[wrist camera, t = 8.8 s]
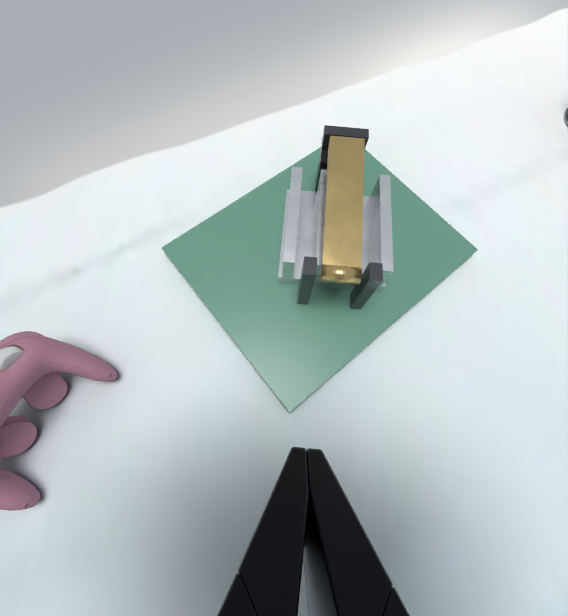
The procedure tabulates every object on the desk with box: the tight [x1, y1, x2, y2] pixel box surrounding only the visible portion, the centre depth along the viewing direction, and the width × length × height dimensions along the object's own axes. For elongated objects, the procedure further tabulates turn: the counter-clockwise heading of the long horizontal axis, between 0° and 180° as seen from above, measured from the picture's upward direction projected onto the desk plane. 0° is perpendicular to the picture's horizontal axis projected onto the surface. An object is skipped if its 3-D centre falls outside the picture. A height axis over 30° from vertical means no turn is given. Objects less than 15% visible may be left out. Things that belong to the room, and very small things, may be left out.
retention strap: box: [320, 136, 365, 284], centre depth 21 cm, size 11×2×1 cm, turn 175°
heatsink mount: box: [278, 125, 394, 309], centre depth 23 cm, size 12×8×5 cm, turn 175°
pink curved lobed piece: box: [0, 331, 117, 510], centre depth 19 cm, size 10×5×7 cm, turn 155°
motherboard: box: [162, 147, 478, 412], centre depth 26 cm, size 16×20×1 cm
